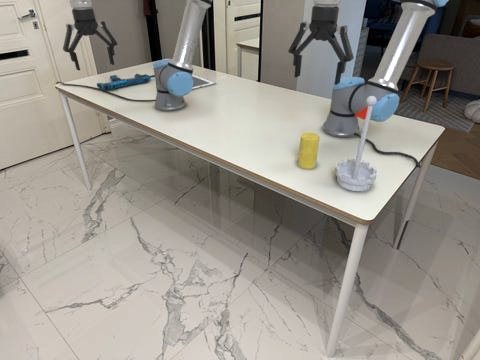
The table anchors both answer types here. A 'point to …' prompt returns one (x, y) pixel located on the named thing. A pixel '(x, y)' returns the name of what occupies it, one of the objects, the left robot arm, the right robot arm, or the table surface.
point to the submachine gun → (123, 81)
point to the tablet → (200, 82)
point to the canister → (308, 150)
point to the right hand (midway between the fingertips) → (316, 79)
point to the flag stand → (358, 159)
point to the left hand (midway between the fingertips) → (95, 66)
